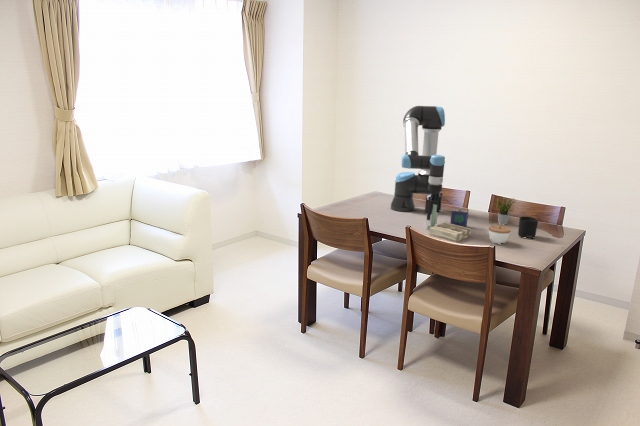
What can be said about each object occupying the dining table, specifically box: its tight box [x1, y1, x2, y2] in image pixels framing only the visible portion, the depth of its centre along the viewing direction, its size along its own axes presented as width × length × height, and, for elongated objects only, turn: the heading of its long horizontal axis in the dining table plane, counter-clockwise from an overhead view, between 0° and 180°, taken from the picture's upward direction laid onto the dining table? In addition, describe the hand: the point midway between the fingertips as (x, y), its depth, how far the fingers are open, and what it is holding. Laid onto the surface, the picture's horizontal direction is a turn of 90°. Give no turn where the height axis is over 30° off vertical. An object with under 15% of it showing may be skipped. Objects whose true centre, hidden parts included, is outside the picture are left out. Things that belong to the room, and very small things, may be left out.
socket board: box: [428, 221, 472, 243], centre depth 276 cm, size 16×16×4 cm
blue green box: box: [450, 207, 469, 228], centre depth 293 cm, size 9×3×11 cm, turn 74°
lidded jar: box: [488, 224, 512, 245], centre depth 266 cm, size 11×11×9 cm
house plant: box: [495, 196, 521, 225], centre depth 300 cm, size 14×14×16 cm
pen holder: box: [517, 216, 539, 239], centre depth 277 cm, size 9×9×10 cm
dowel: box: [426, 204, 437, 231], centre depth 284 cm, size 4×4×14 cm
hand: (431, 224), depth 285 cm, fingers open, 5 cm apart
